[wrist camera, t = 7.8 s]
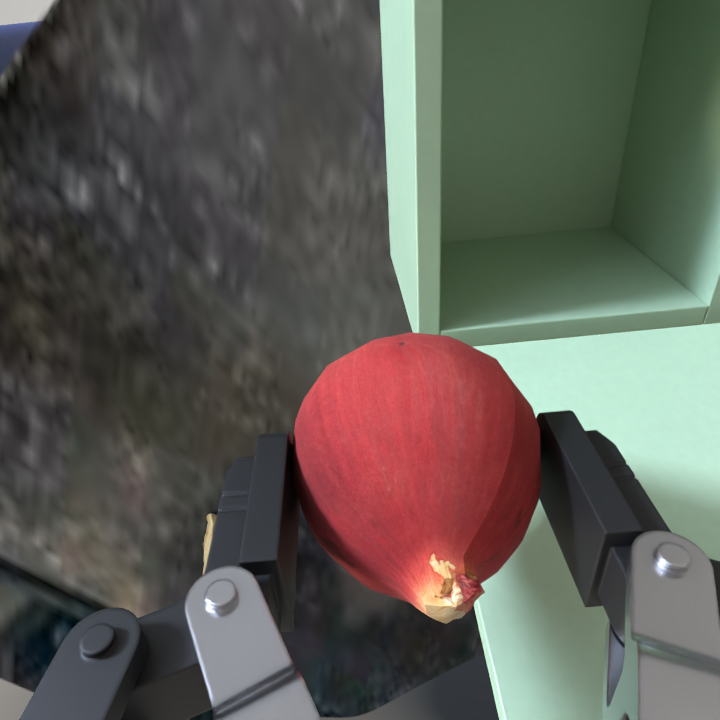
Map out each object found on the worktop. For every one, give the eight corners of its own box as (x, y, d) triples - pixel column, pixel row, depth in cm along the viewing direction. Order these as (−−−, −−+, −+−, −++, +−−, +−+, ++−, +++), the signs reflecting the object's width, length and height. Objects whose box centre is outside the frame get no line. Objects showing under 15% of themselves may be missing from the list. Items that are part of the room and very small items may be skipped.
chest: (376, -73, 25) (410, -109, 16) (679, -98, 26) (882, -148, 16) (390, 255, 34) (418, 352, 25) (616, 234, 34) (724, 322, 25)
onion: (466, 449, 18) (547, 710, 12) (290, 436, 18) (269, 705, 11) (519, 290, 15) (671, 523, 9) (308, 266, 15) (295, 498, 8)
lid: (539, 872, 12) (533, 875, 13) (1162, 802, 12) (1130, 808, 13) (419, 351, 24) (419, 364, 25) (734, 321, 25) (727, 334, 25)
